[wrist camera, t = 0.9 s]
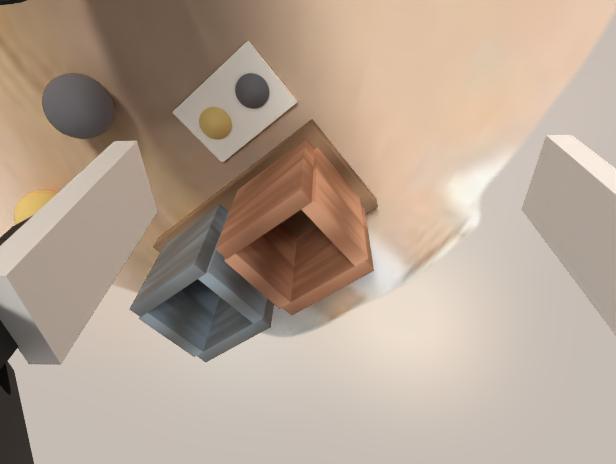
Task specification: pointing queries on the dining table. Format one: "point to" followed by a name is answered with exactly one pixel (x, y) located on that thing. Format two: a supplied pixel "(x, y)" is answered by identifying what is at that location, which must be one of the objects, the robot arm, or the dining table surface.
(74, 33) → the dining table surface
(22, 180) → the dining table surface
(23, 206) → the ochre ball
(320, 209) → the desk organizer
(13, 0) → the coffee cup
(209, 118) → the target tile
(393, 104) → the dining table surface
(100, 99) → the charcoal ball
